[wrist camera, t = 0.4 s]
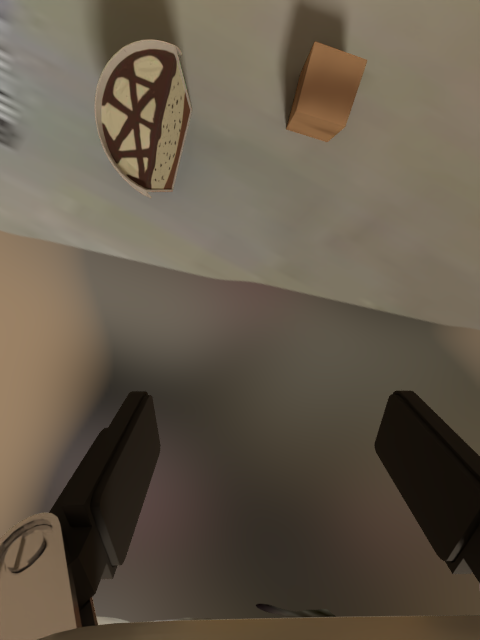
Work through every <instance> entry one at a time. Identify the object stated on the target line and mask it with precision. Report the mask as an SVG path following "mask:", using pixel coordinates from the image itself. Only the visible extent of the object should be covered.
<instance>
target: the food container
mask: <svg viewBox="0 0 480 640" xmlns="http://www.w3.org/2000/svg"><path fill="white" fill-rule="evenodd" d="M178 54H179V55H182V52H181V51H180V49H179V48H178V46H175V45H173V44H170V43H168V42H165V41H160V40H154V39H153V40H140V41H136V42H133V43H131V44H129V45H127V46H125V47H123V48H122V49H120V50H119V51H118V52H117V53H115V54H114V55H113V57H112V58H111V59H110V60H109V61H108V63H107V64H106V66H105V68H104V70H103V72H102V73H101V76H100V79H99V82H98V85H97V90H96V95H95V119H96V125H97V130H98V134H99V138H100V141H101V143H102V146H103V149H104V151H105V153H106V155H107V157H108V159H109V160H110V162H111V163H112V165H113V167H114V168H115V169H116V170H117V172H118V173H119V174H120V175H121V176H122V177H123V179H124V180H125V181H126V182H128V183H129V184H130V185H131V186H132V187H133V188H134V189H136V190H137V191H139V192H140V193H142V194H143V195H145V196H147V197H149V198H151V196H150V195H149V194H148V192H173V188H174V183H175V179H176V175H177V171H178V167H179V163H180V159H181V155H182V150H183V146H184V142H185V138H186V134H187V130H188V126H189V122H190V117H191V113H192V107H191V104H190V100H189V96H188V92H187V88H186V84H185V80H184V76H183V72H182V68H181V64H180V61H179V57H178Z"/></svg>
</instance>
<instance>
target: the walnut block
mask: <svg viewBox="0 0 480 640" xmlns="http://www.w3.org/2000/svg"><path fill="white" fill-rule="evenodd" d="M366 63H367V60H366V59H363V58H360V57H357V56H355V55H352V54H349V53H346V52H343V51H341V50H338V49H335V48H332V47H329V46H327V45H324V44H321V43H318V42H314V44H313V46H312V49H311V51H310V53H309V55H308V58H307V60H306V62H305V64H304V67H303V69H302V71H301V74H300V78H299V82H298V85H297V89H296V93H295V97H294V101H293V105H292V109H291V112H290V116H289V120H288V124H287V128H286V129H287V130H290V131H293V132H297V133H300V134H303V135H306V136H309V137H313V138H316V139H319V140H322V141H325V142H328V141H329V140H330V139H332V138H333V137H334V136H335V135H336V134H337V133H339V132H340V131H341V130H342V129H343V128H345V126H346V123H347V120H348V117H349V114H350V111H351V108H352V105H353V102H354V99H355V96H356V93H357V90H358V87H359V84H360V81H361V78H362V75H363V72H364V69H365V66H366Z"/></svg>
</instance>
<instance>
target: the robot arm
mask: <svg viewBox="0 0 480 640" xmlns="http://www.w3.org/2000/svg"><path fill="white" fill-rule="evenodd" d="M375 450H376V453H377V454H378V456H379V458H380V460H381V461H382V463H383V465H384V466H385V468H386V470H387V471H388V473H389V475H390V476H391V478H392V480H393V482H394V483H395V485H396V487H397V488H398V490H399V492H400V493H401V495H402V497H403V498H404V500H405V502H406V503H407V505H408V507H409V509H410V510H411V512H412V514H413V515H414V517H415V519H416V520H417V522H418V524H419V525H420V527H421V528H422V530H423V532H424V534H425V535H426V537H427V539H428V540H429V542H430V544H431V545H432V547H433V549H434V550H435V552H436V554H437V555H438V556H439V557H440V559H442V560H443V561H445V562H446V564H447V565H448V567H449V569H450V570H451V572H452V574H470V573H471V572H473V574H474V575H475V577H476V578H477V580H478V581H479V585H480V456H478V454H477V453H476V452H475V451H474V450H473V449H471V448H470V447H469V446H468V445H467V444H466V443H465V442H464V441H463V440H462V439H461V438H460V437H459V436H458V435H457V434H456V433H455V432H454V431H453V430H452V429H451V428H450V427H449V426H448V425H447V424H446V423H445V422H444V421H443V420H442V419H441V418H440V417H439V416H438V415H437V414H436V413H435V412H434V411H433V410H432V409H431V408H430V407H429V406H428V405H427V404H426V403H425V402H424V401H423V400H422V399H421V398H419V396H418V395H416V393H414V392H413V391H395V392H394V393H393V394H392V395H390V396H389V399H388V402H387V405H386V408H385V412H384V415H383V418H382V421H381V425H380V428H379V431H378V435H377V438H376V441H375ZM159 453H160V440H159V434H158V428H157V423H156V416H155V410H154V404H153V399H152V396H151V395H148V393H147V392H144V391H143V392H141V391H140V392H139V391H132V392H130V393H129V394H128V396H127V398H126V399H125V401H124V402H123V404H122V406H121V407H120V409H119V411H118V412H117V414H116V416H115V417H114V419H113V421H112V422H111V424H110V426H109V427H108V428H104V429H103V430H102V431H101V432H100V433H99V435H98V436H97V438H96V440H95V441H94V443H93V444H92V446H91V448H90V449H89V450H88V452H87V454H86V455H85V457H84V458H83V460H82V461H81V463H80V465H79V466H78V468H77V469H76V471H75V473H74V474H73V476H72V477H71V479H70V480H69V482H68V483H67V485H66V487H65V488H64V490H63V492H62V493H61V495H60V496H59V498H58V499H57V501H56V502H55V504H54V506H53V507H52V509H51V510H50V512H49V513H39V514H35V515H32V516H30V517H28V518H26V519H24V520H22V521H20V522H19V523H18V524H16V525H15V526H13V527H12V528H11V529H9V530H8V531H7V532H6V533H5V534H4V535H3V536H2V537H1V538H0V640H480V615H460V616H382V617H381V616H380V617H379V616H375V617H315V618H266V619H265V618H262V619H219V620H177V621H156V622H134V623H114V624H105V625H98V622H97V618H96V613H95V608H94V604H93V599H92V596H93V595H94V594H95V593H96V590H97V588H98V585H99V582H100V580H101V579H113V577H114V574H115V571H116V568H117V565H122V564H123V562H124V560H125V557H126V555H127V552H128V549H129V545H130V542H131V539H132V536H133V533H134V530H135V527H136V524H137V521H138V518H139V515H140V512H141V508H142V506H143V503H144V500H145V497H146V493H147V490H148V487H149V484H150V481H151V478H152V475H153V472H154V469H155V465H156V463H157V460H158V457H159Z"/></svg>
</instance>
